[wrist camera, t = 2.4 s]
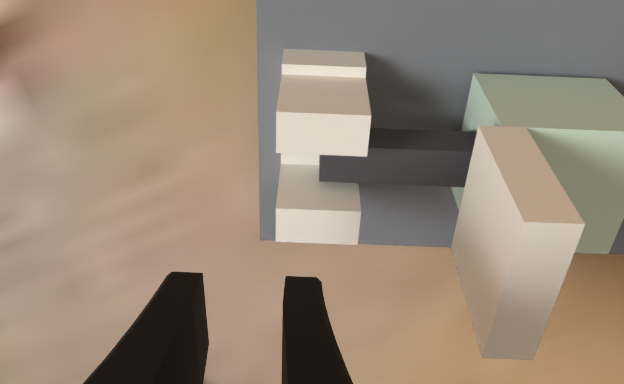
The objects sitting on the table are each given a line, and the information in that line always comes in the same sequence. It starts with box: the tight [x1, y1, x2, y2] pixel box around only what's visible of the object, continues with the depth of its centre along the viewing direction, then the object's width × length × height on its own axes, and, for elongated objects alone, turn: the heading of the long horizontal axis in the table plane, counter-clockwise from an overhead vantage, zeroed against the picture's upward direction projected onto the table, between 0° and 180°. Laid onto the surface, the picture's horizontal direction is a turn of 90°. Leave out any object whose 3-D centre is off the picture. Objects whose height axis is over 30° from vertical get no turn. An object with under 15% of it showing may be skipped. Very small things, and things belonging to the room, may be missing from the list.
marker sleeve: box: [451, 73, 624, 360], centre depth 16 cm, size 5×4×7 cm
